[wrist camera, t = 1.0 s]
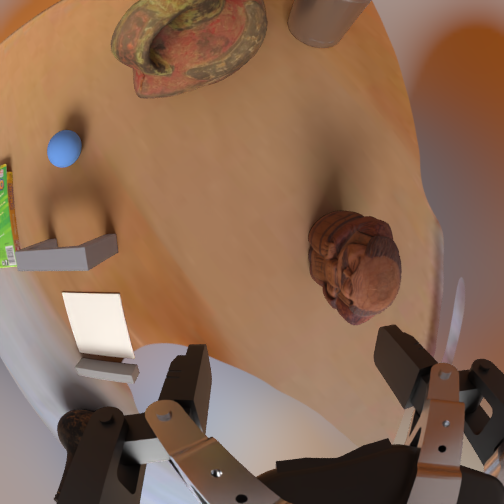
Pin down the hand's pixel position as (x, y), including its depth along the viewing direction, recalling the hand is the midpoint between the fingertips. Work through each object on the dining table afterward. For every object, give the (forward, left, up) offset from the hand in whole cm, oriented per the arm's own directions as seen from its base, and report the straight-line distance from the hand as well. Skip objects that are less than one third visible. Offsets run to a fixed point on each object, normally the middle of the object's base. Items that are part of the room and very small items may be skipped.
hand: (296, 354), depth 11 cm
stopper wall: (+24, -30, -29) cm, 48 cm away
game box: (-7, -52, -30) cm, 60 cm away
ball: (-16, -30, -26) cm, 42 cm away
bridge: (0, -30, -29) cm, 41 cm away
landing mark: (+15, -30, -29) cm, 44 cm away
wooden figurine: (+2, +10, -29) cm, 31 cm away
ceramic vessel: (-30, -7, -29) cm, 42 cm away
